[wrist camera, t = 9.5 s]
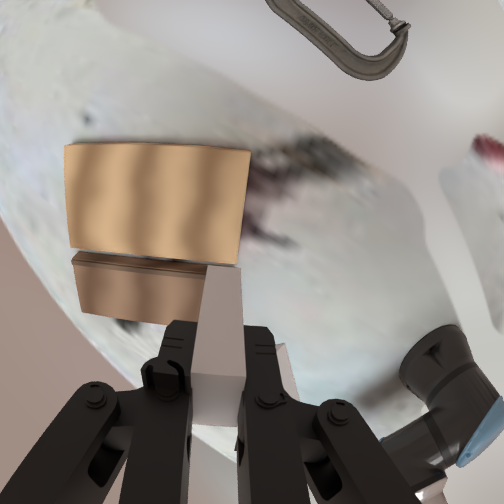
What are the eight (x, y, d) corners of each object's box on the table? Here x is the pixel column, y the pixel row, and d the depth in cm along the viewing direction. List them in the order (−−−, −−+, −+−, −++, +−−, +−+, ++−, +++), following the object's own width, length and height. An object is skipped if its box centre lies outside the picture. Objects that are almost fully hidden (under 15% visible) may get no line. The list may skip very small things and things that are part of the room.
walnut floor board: (234, 267, 34) (235, 276, 32) (228, 321, 37) (228, 332, 35) (79, 251, 32) (71, 259, 30) (87, 303, 35) (81, 313, 33)
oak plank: (249, 150, 28) (251, 152, 26) (236, 255, 33) (236, 264, 32) (73, 143, 26) (64, 145, 24) (77, 240, 31) (70, 247, 29)
